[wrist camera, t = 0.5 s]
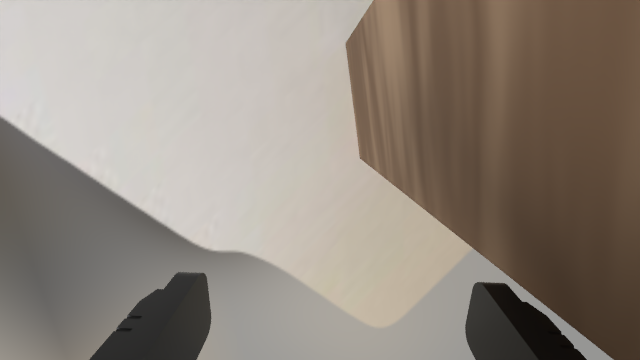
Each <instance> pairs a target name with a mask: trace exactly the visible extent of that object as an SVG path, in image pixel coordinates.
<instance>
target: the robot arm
mask: <svg viewBox="0 0 640 360" xmlns="http://www.w3.org/2000/svg"><path fill="white" fill-rule="evenodd" d="M210 324H211V310H210V301H209V293H208V283H207V277H206V275H205V274H204V273H187V272H178V273H177V274H176V275H175V276H174V277H173V278H172V279H171V281H170V282H169V283H168V284H167V286H166V287H165V288H164V289H162V290H161V289H157V290H155V291H154V292H153V293H151V294H150V295H148V296H147V297H145V298H144V299H142V300H141V301H140V302H139V303H138V304H137V305H136V306H135V307H134V309H133V310H132V311H131V312H130V313H129V314H128V315H127V319H124V320H123V321H122V322H121V324H120V325H119V326H118V327H117V330H116V331H114V332H113V333H112V334H111V335H110V336H109V338H108V339H107V340H106V341H105V342H104V343H103V345H102V346H101V347H100V348H99V349H98V350H97V351H96V353H95V354H94V355H93V356H92V357H91V358H90V360H196V359H197V357H198V355H199V353H200V351H201V349H202V347H203V345H204V342H205V341H206V338H207V336H208V333H209V330H210ZM465 328H466V338H467V342H468V345H469V347H470V350H471V351H472V353H473V355H474V357H475V359H476V360H587V359H586V358H585V357H584V356H583V355H582V354H581V353H580V352H579V351H578V350H577V349H574V345H573V344H572V343H571V342H570V341H569V340H568V339H567V338H566V337H565V336H564V335H562V334H561V331H560V330H559V329H558V328H557V327H556V326H555V325H554V323H553V322H552V321H551V320H550V319H549V318H548V317H547V316H546V315H544V314H543V313H542V312H540V311H539V310H537V309H536V308H534V307H533V306H532V305H530V304H529V303H527V302H522V301H521V300H520V299H519V298H518V297H517V295H516V294H515V293H514V292H513V291H512V290H511V289H510V287H509V286H508V285H506V284H505V283H484V282H477V283H475V285H474V286H473V290H472V295H471V300H470V305H469V310H468V315H467V320H466V327H465Z"/></svg>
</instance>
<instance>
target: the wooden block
mask: <svg viewBox="0 0 640 360" xmlns="http://www.w3.org/2000/svg"><path fill="white" fill-rule="evenodd" d="M346 49H347V57H348V65H349V73H350V81H351V89H352V97H353V105H354V113H355V121H356V129H357V137H358V146H359V154H360V159H362V160H363V161H364V162H365V163H367V164H368V165H369V166H370V167H372V168H373V169H374V170H375V171H377V172H378V173H379V174H380V175H382V176H383V177H384V178H385V179H387V180H388V181H389V182H391V183H392V184H393V185H394V186H396V187H397V188H398V189H399V190H401V191H402V192H403V193H404V194H406V195H407V196H408V197H409V198H411V199H412V200H413V201H414V202H416V203H417V204H418V205H420V206H421V207H422V208H423V209H425V210H426V211H427V212H428V213H430V214H431V215H432V216H433V217H435V218H436V219H437V220H438V221H440V222H441V223H442V224H443V225H445V226H446V227H447V228H449V229H450V230H451V231H452V232H454V233H455V234H456V235H457V236H459V237H460V238H461V239H462V240H464V241H465V242H466V243H467V244H469V245H470V246H471V247H472V248H474V249H475V250H476V251H477V252H479V253H480V254H481V255H483V256H484V257H485V258H486V259H488V260H489V261H490V262H491V263H493V264H494V265H495V266H496V267H498V268H499V269H500V270H502V271H503V272H504V273H505V274H506V275H508V276H509V277H510V278H512V279H513V280H514V281H515V282H517V283H518V284H519V285H520V286H522V287H523V288H524V289H526V290H527V291H528V292H529V293H530V294H532V295H533V296H534V297H535V298H537V299H538V300H539V301H541V302H542V303H543V304H544V305H546V306H547V307H548V308H550V309H551V310H552V311H553V312H554V313H556V314H557V315H558V316H560V317H561V318H562V319H563V320H564V321H566V322H567V323H568V324H569V325H571V326H572V327H573V328H575V329H576V330H577V331H578V332H580V333H581V334H582V335H584V336H585V337H586V338H587V339H588V340H590V341H591V342H592V343H594V344H595V345H596V346H597V347H598V348H600V349H601V350H602V351H604V352H605V353H606V354H607V355H609V356H610V357H611V358H613V359H614V360H640V0H374V1H373V2H372V4H371V5H370V7H369V8H368V10H367V11H366V13H365V14H364V16H363V17H362V19H361V21H360V22H359V24H358V25H357V27H356V28H355V30H354V31H353V33H352V34H351V36H350V37H349V39H348V41H347V42H346Z"/></svg>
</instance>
